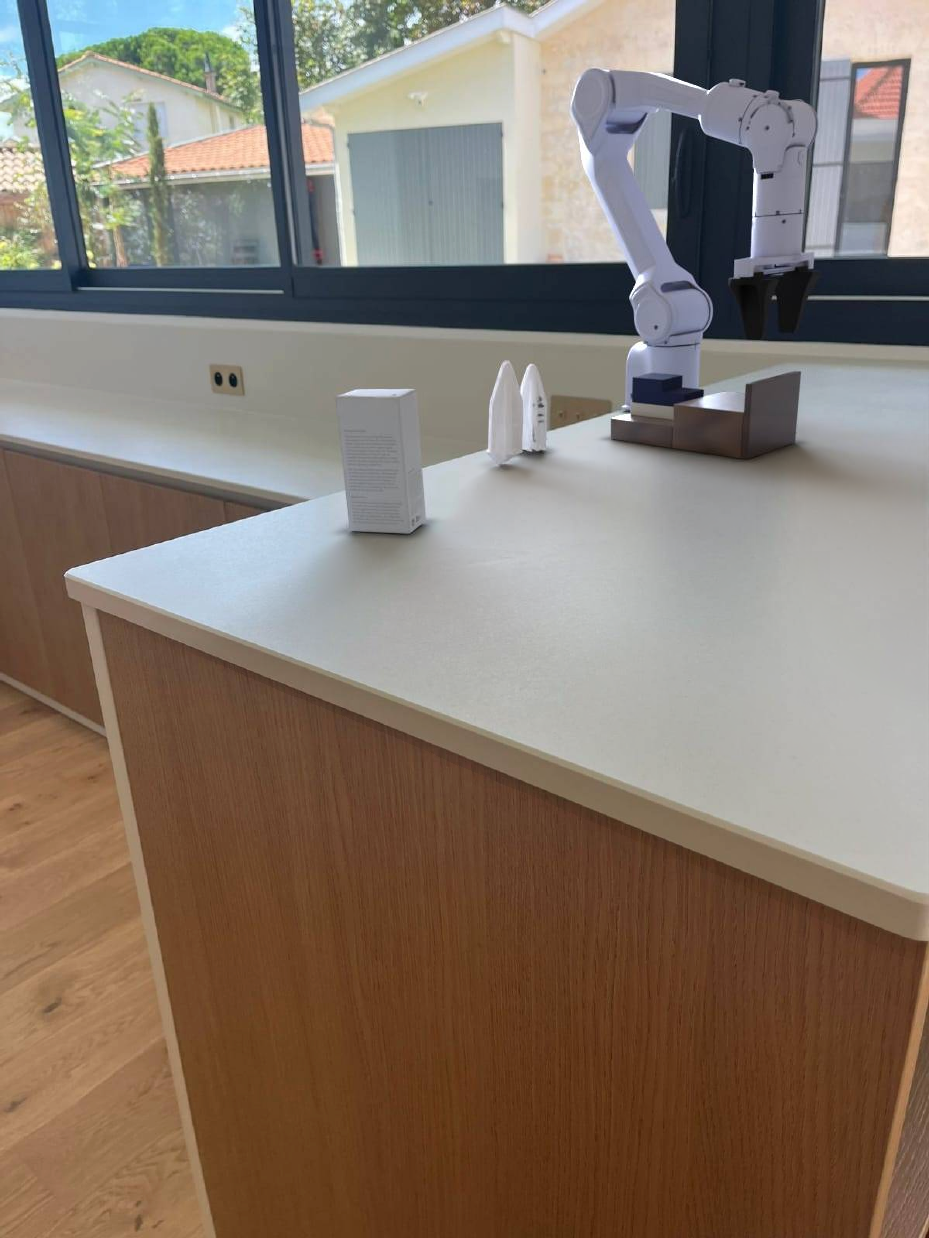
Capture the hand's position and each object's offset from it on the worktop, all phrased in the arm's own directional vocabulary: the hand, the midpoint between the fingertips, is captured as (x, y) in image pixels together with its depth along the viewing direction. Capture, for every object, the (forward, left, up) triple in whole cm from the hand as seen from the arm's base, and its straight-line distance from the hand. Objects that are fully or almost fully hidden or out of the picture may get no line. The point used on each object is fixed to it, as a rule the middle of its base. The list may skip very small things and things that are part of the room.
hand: (771, 336), depth 116 cm
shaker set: (-12, -33, -11) cm, 37 cm away
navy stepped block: (-5, -14, -8) cm, 17 cm away
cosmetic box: (-3, -59, -11) cm, 60 cm away
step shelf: (-1, -14, -10) cm, 17 cm away
